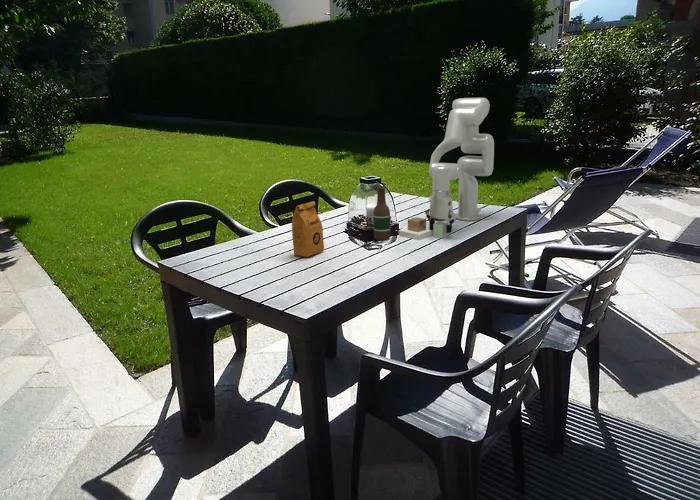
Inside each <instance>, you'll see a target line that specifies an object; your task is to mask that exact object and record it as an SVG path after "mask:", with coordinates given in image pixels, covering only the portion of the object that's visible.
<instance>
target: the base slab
mask: <svg viewBox="0 0 700 500" xmlns="http://www.w3.org/2000/svg"><path fill="white" fill-rule="evenodd" d="M398 236H399V237H404V238H408V239H414V240H417V241H420V240H423V239H426V238H428V237H432V236H433V229H432V230H430V227H427V226H426V230H423V231H420V232H415V231H410V230H408V226H407V227H405V228H402V229H401V228H400V229H399V230H398Z"/></svg>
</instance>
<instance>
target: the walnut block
mask: <svg viewBox="0 0 700 500" xmlns="http://www.w3.org/2000/svg"><path fill="white" fill-rule="evenodd" d="M407 227H408V230H410V231H415V232H420V231H423V230H426V227H427V218H424V217H423V218H422V217H419V216H414V217H411V218H408V219H407Z"/></svg>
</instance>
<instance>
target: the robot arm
mask: <svg viewBox="0 0 700 500" xmlns="http://www.w3.org/2000/svg"><path fill="white" fill-rule="evenodd" d="M451 107H452V110H450V111H449V114H448V120H447V123H446V129H445V135H444V138H443V141H442V142H441V143H440V144H439V145H437V147H436V148H435V150H433V153H431V157H430V161H429V166H428V175H429V177H430V179H432V192H431V193H432V195H431V196H432V197H431V201H429V208H428V209H426V210H424V214H425V216H426V219H427V220H428V222H429V227H428V228H430V230H432V229H433V224H435V223H436V220H434V219H435V218H437V219H442V221H445V223H447V225H446V233H449V234H451V233H452V231H453V224H454V223H455V222H456V220H458V221H463V222H464V221H465V222H467V221H468V222H469V221H477V220H480V219H481V215H480V214H478V213H479V212H481V211H482V208H481V207H478V198H479V195H478V194H479V193H478V192H479V182H478V180H477V178H476V177H475V176H477V177H488V176H491V175H492V174H493V170H494V164H495V163H494V162H495V161H494V158H495V141H494V138H493V136H492V135H491V134H489V133H480V132H479V129H480V128H479V126H480V125H481V124H482V123H483V121H484V119H485V118H486V117H487V116H488V114H489V111H490V101H489V100H488V99H487V98H486V97H464V98H463V97H462V98H457V99H454V100H453V101H452V106H451ZM458 147H460V150H461V151H462V152H463V153H464V154H479V155H482V156H478V155H465V156H462V157H459V159H458V160H457V163H456V162H455V163H452V162H451V163H449V162H440V161H441V158H442V156H443V155H445V154H446V153H447V152H449V151H451V150H454V149H456V148H458ZM456 180H458V202H457V203H458V204H457V205H458V208H457V209H458V212H457V214H456V213H455V212H454V209H453V208H454V206H453V200H452V197H451V196H452V192H451V188H450V187H451V186H450V183H451V182H450V181H456Z"/></svg>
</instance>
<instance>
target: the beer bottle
mask: <svg viewBox="0 0 700 500" xmlns="http://www.w3.org/2000/svg"><path fill="white" fill-rule="evenodd" d="M385 189H386V187H385V186H384V185H380V186H379V185H378V186H377V187H376V190H377V200H376V206H375V207H374V209H373V217H372V219H373V220H372V221H373V239H374V240H376V241H388V240H390V238H391V210H390V207H389V206H388V205H387V201H386V193H385V192H386V191H385Z"/></svg>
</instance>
